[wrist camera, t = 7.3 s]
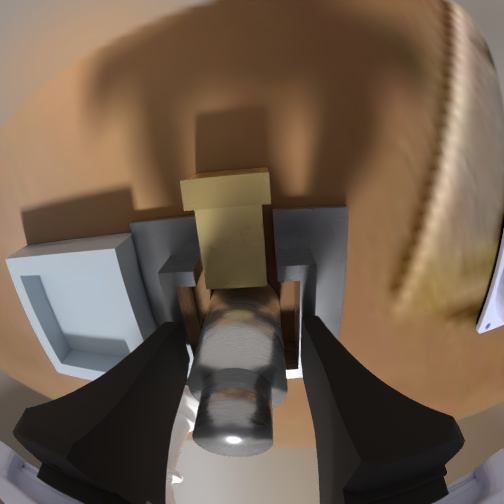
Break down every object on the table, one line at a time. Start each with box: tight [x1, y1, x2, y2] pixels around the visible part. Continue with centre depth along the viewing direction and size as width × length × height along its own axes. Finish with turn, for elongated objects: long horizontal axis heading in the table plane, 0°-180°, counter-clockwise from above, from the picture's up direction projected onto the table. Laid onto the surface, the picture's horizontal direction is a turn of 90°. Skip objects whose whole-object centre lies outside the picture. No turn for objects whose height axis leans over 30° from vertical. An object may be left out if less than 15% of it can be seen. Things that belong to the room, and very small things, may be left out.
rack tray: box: [5, 232, 157, 381], centre depth 12 cm, size 8×8×2 cm
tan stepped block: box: [180, 167, 271, 289], centre depth 10 cm, size 3×4×2 cm
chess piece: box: [166, 385, 199, 504], centre depth 11 cm, size 5×5×10 cm
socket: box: [129, 205, 348, 378], centre depth 12 cm, size 9×9×2 cm
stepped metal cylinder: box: [188, 284, 288, 457], centre depth 9 cm, size 3×3×7 cm
